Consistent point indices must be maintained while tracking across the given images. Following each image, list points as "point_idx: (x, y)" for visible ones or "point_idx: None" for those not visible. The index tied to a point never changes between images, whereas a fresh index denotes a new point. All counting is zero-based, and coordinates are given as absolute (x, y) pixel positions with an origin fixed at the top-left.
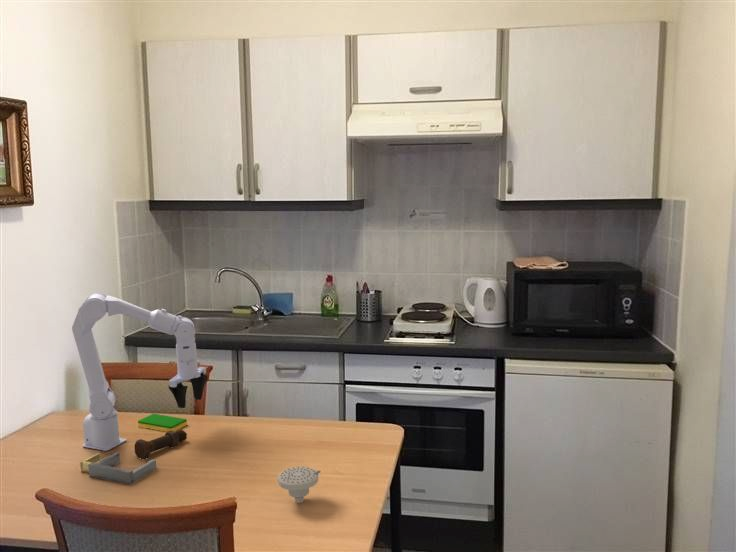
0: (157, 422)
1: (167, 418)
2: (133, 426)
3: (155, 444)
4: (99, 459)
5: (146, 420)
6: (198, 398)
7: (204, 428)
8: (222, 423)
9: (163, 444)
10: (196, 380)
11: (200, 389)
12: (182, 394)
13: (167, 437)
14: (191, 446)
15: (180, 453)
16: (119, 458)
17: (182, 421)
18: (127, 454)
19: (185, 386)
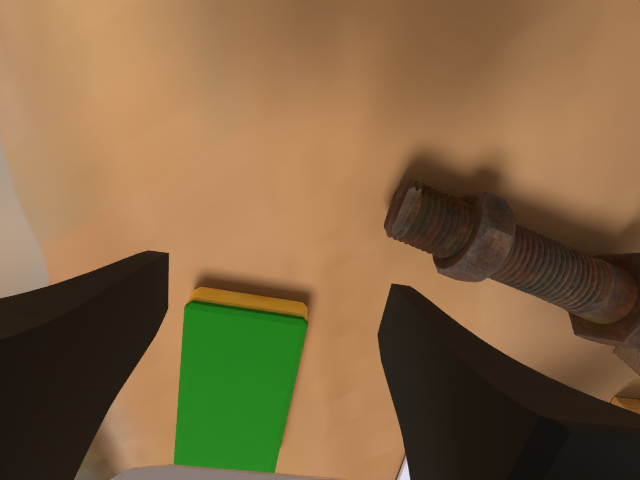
0: (270, 403)
1: (212, 389)
2: None
3: (588, 265)
4: (628, 407)
5: (259, 452)
6: (163, 276)
7: (212, 176)
8: (107, 104)
9: (546, 240)
10: (24, 461)
11: (106, 304)
12: (533, 373)
13: (518, 248)
14: (462, 119)
15: (553, 131)
16: (635, 349)
17: (222, 308)
18: (547, 351)
19: (595, 450)
